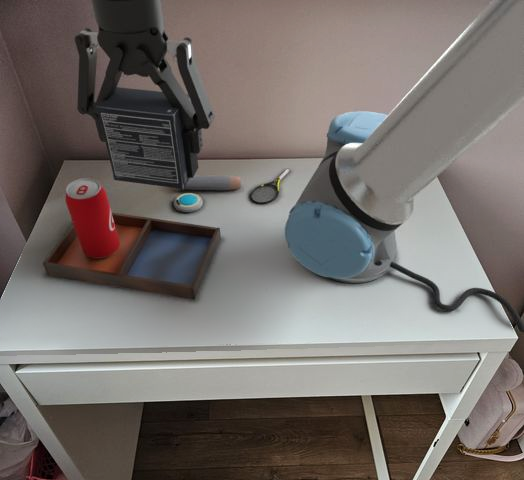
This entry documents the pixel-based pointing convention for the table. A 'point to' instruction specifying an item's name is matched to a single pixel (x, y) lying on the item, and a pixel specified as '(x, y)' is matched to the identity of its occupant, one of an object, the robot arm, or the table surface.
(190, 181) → the grey two-tone cylinder
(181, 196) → the button
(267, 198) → the tennis racket
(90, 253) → the beverage can
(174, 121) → the small box
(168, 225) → the sorting tray
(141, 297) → the table surface
